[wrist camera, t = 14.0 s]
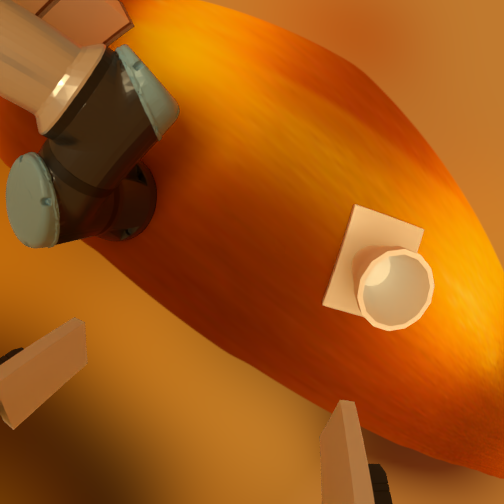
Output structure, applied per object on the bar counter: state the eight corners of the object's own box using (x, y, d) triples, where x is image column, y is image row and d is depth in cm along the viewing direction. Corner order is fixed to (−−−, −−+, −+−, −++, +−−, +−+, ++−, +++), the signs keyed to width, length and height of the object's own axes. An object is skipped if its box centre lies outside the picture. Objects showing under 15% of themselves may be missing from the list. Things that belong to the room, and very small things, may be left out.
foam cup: (408, 247, 40) (445, 265, 27) (385, 302, 42) (413, 338, 29) (353, 226, 41) (376, 237, 28) (332, 284, 43) (344, 317, 30)
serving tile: (321, 301, 45) (322, 305, 44) (353, 204, 42) (355, 204, 40) (387, 320, 44) (389, 324, 42) (420, 228, 41) (424, 229, 39)
